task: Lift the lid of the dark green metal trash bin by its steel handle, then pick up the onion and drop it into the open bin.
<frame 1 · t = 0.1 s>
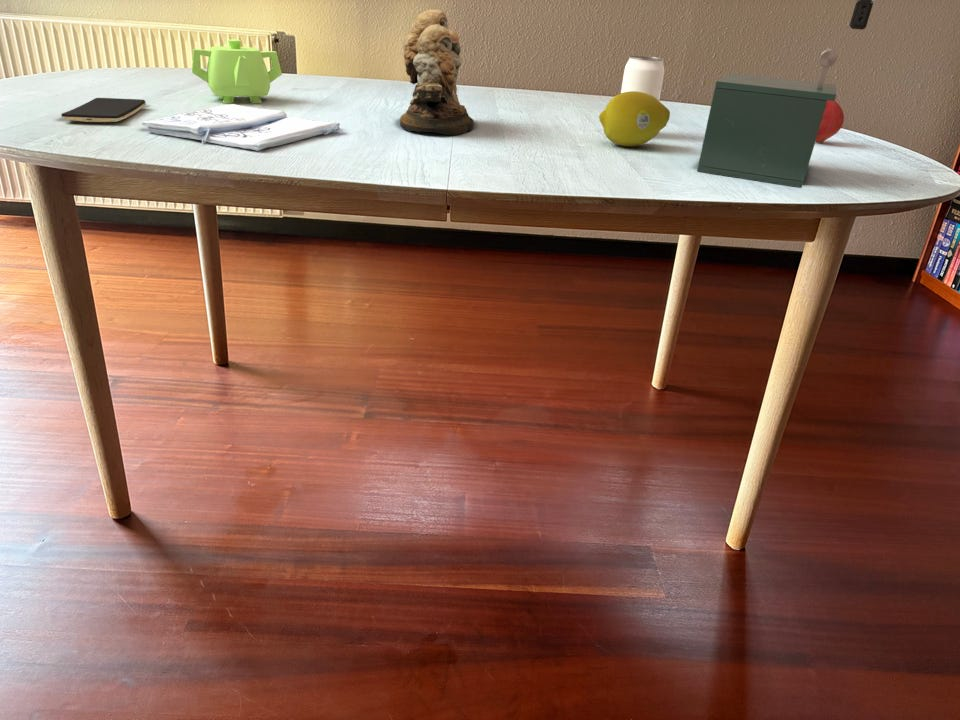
hand: (856, 28, 109), 18 cm above the table, tool pointing down, fingers open, 8 cm apart
bin lid: (782, 67, 91), point 14 cm above the table, hinge at 0.0°
trash bin: (753, 169, 97), on the table
lemon: (629, 147, 107), on the table
open sketchbook: (246, 134, 98), on the table
onion: (817, 144, 120), on the table
can: (633, 135, 117), on the table
smartphone: (107, 115, 102), on the table
teapot: (240, 101, 122), on the table
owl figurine: (436, 128, 111), on the table
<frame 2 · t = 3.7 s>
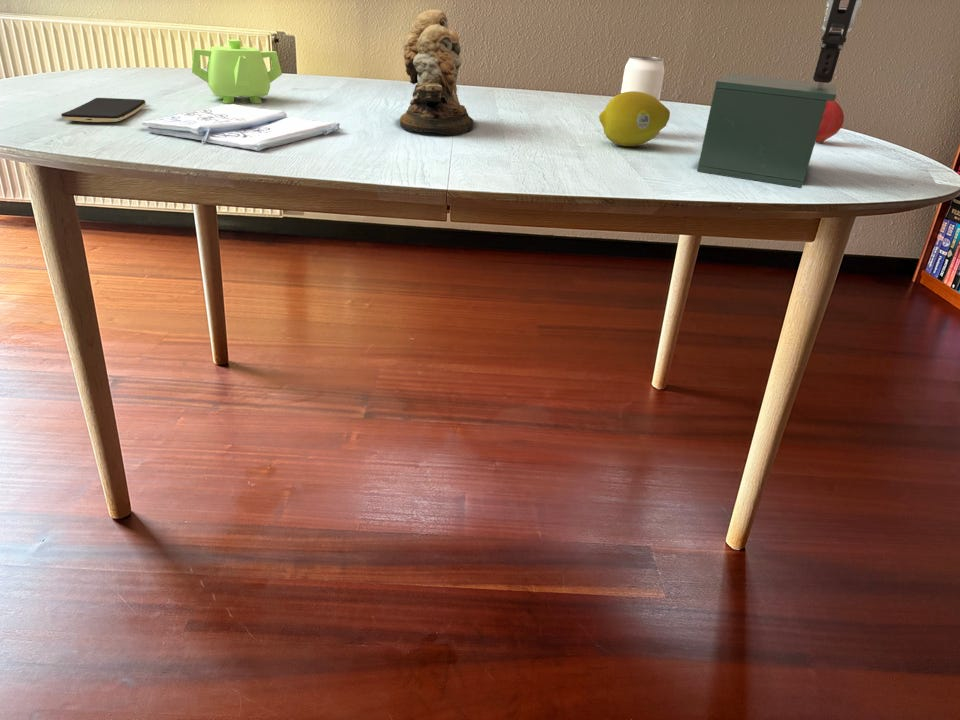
hand: (822, 79, 89), 13 cm above the table, tool pointing down, fingers closed on bin lid, 5 cm apart
bin lid: (782, 67, 91), point 14 cm above the table, hinge at 0.0°, touching gripper
everything else where it was.
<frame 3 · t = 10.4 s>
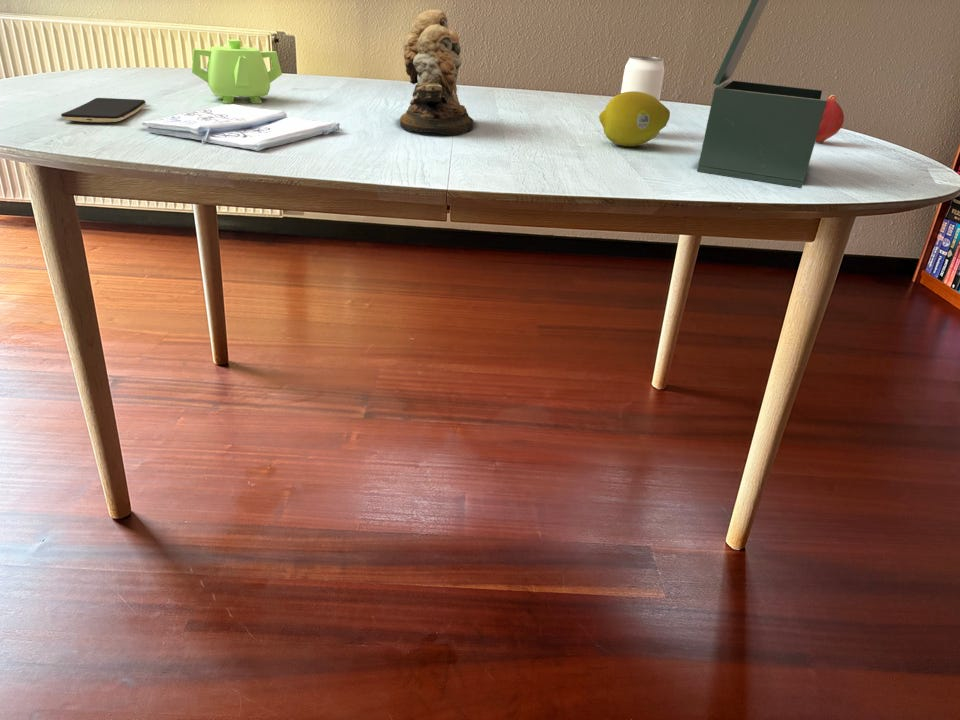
bin lid: (732, 18, 91), point 19 cm above the table, hinge at 75.8°, touching gripper
everything else where it was.
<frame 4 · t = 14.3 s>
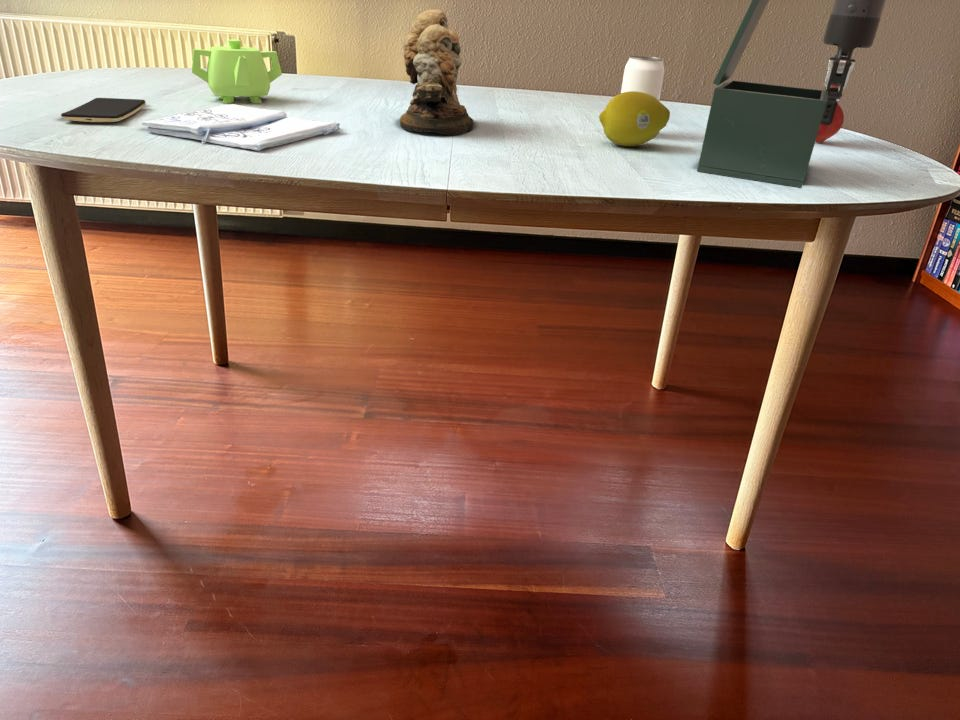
hand: (824, 121, 119), 4 cm above the table, tool pointing down, fingers closed on onion, 6 cm apart
bin lid: (732, 18, 91), point 19 cm above the table, hinge at 75.4°
onion: (817, 144, 120), on the table, touching gripper
everything else where it was.
when the fingers open (13 cm above the table, at t = 21.4 s): onion drops 8 cm, resting on trash bin.
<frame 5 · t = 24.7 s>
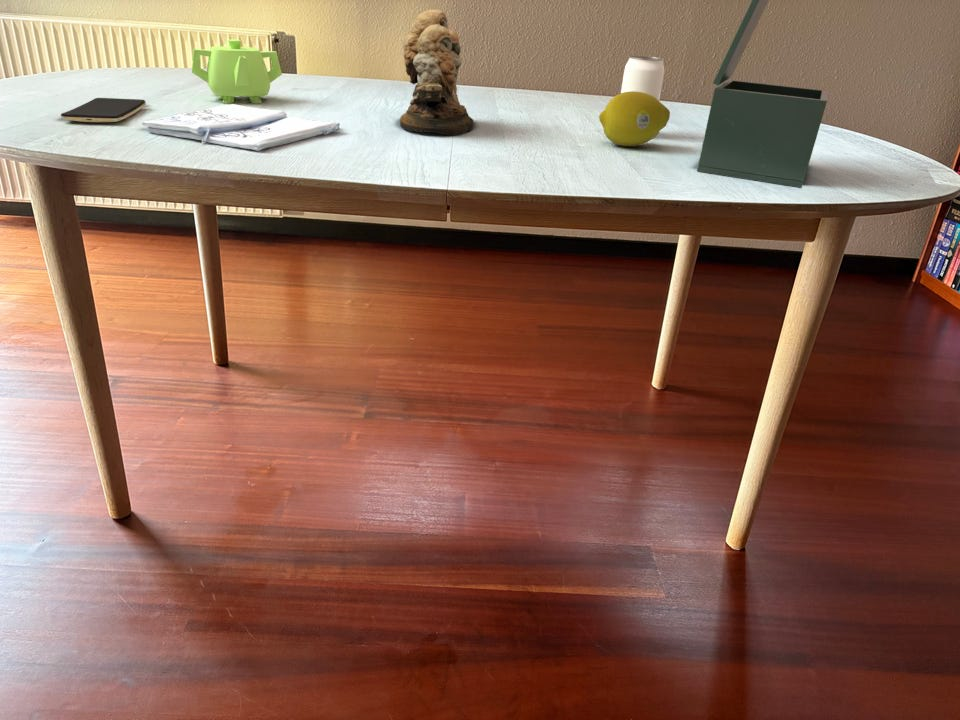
onion: (760, 160, 96), point 1 cm above the table, touching trash bin
everything else where it was.
at the end: bin lid at +75° (first picture: +0°); onion inside the target area in the trash bin (0.8 cm from its centre), point 1.5 cm above the trash bin's base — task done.
